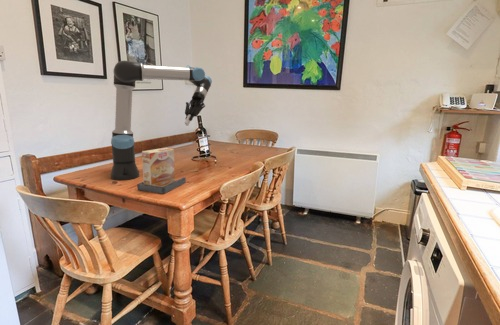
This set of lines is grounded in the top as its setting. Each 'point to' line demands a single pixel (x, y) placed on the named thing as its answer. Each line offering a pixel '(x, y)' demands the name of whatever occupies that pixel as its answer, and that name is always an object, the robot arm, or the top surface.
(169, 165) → the coffeecake box
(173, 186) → the dock
